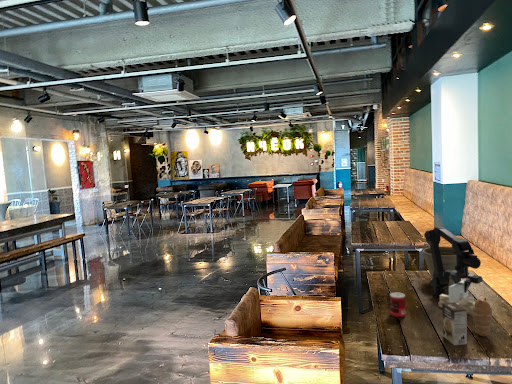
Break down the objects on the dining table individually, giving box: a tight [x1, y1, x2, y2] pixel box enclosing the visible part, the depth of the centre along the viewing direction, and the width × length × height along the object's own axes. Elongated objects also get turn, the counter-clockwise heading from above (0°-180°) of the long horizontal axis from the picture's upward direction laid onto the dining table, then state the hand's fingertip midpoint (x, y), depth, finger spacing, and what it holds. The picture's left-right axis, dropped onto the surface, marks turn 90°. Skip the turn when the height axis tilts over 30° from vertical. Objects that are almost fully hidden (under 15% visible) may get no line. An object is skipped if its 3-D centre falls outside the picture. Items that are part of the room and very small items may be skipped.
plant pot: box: [422, 246, 467, 288], centre depth 250 cm, size 25×25×22 cm
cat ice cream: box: [472, 296, 493, 337], centre depth 178 cm, size 9×8×18 cm
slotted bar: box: [448, 280, 469, 303], centre depth 208 cm, size 14×3×8 cm, turn 125°
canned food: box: [389, 291, 407, 318], centre depth 207 cm, size 8×8×11 cm
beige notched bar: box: [437, 294, 476, 317], centre depth 208 cm, size 20×6×6 cm, turn 35°
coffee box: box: [441, 302, 468, 346], centre depth 176 cm, size 9×6×16 cm
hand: (462, 291), depth 210 cm, fingers closed on slotted bar, 3 cm apart
